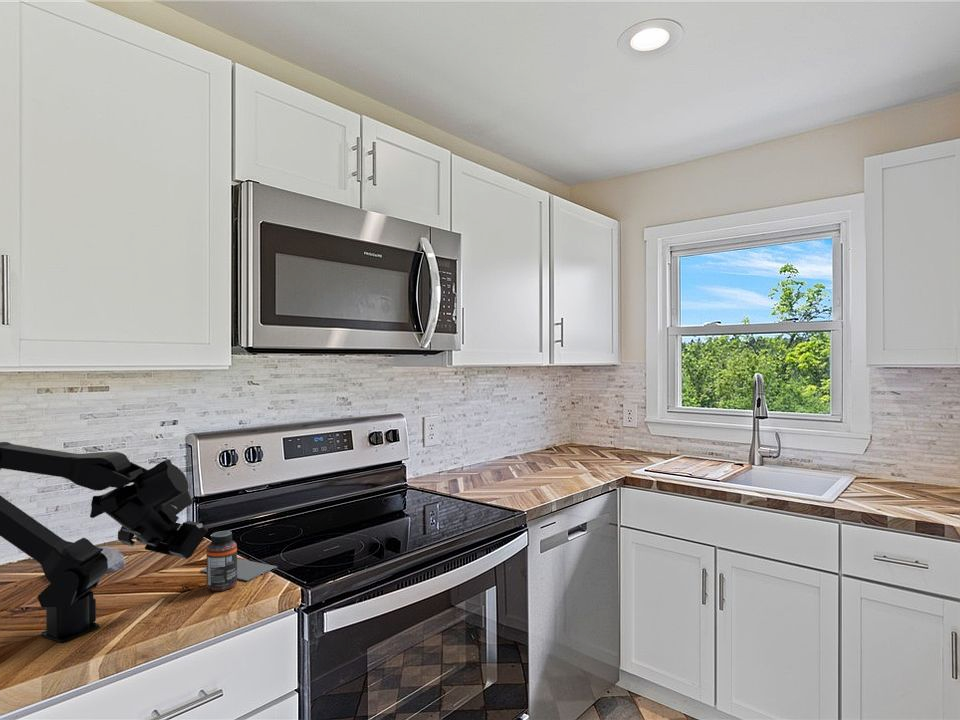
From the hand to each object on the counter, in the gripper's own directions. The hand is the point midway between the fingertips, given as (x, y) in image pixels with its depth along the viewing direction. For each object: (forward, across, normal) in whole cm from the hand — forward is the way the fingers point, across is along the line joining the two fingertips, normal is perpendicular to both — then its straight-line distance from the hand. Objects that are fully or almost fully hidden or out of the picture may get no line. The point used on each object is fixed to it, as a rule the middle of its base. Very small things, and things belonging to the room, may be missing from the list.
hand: (188, 555), depth 117 cm
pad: (+18, +5, -5) cm, 20 cm away
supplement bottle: (+13, 0, +1) cm, 13 cm away
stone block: (+8, +34, +6) cm, 35 cm away
